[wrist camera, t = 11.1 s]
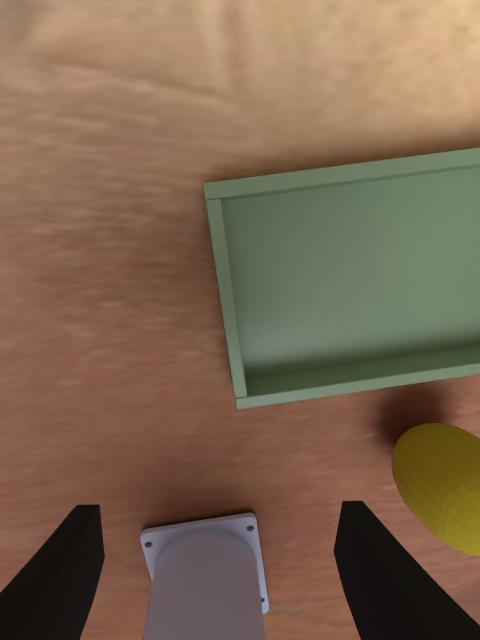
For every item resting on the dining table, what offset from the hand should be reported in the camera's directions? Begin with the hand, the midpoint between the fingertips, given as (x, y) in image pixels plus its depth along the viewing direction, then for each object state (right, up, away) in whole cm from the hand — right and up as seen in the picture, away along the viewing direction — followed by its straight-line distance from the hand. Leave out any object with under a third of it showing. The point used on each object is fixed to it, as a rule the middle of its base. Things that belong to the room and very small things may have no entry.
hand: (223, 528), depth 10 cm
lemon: (+12, -1, +12) cm, 17 cm away
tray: (+8, +9, +9) cm, 15 cm away
